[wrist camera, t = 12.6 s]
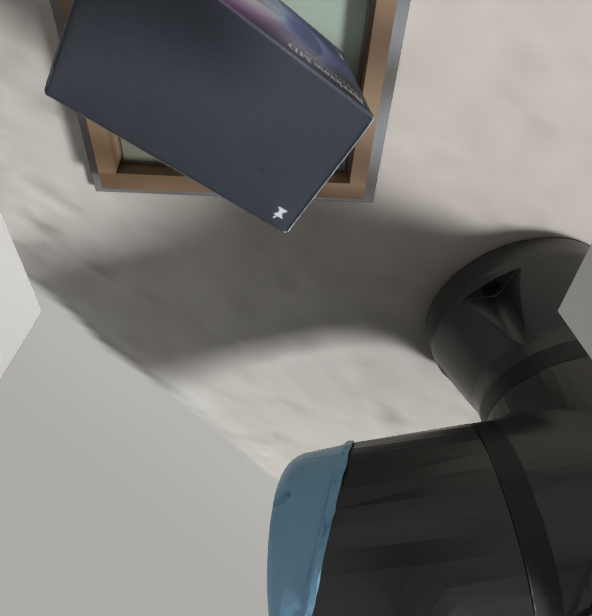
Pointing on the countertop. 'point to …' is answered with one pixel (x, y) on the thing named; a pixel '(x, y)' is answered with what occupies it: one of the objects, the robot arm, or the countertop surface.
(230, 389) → the countertop surface
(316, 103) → the small box
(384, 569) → the robot arm
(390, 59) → the wooden picture frame
